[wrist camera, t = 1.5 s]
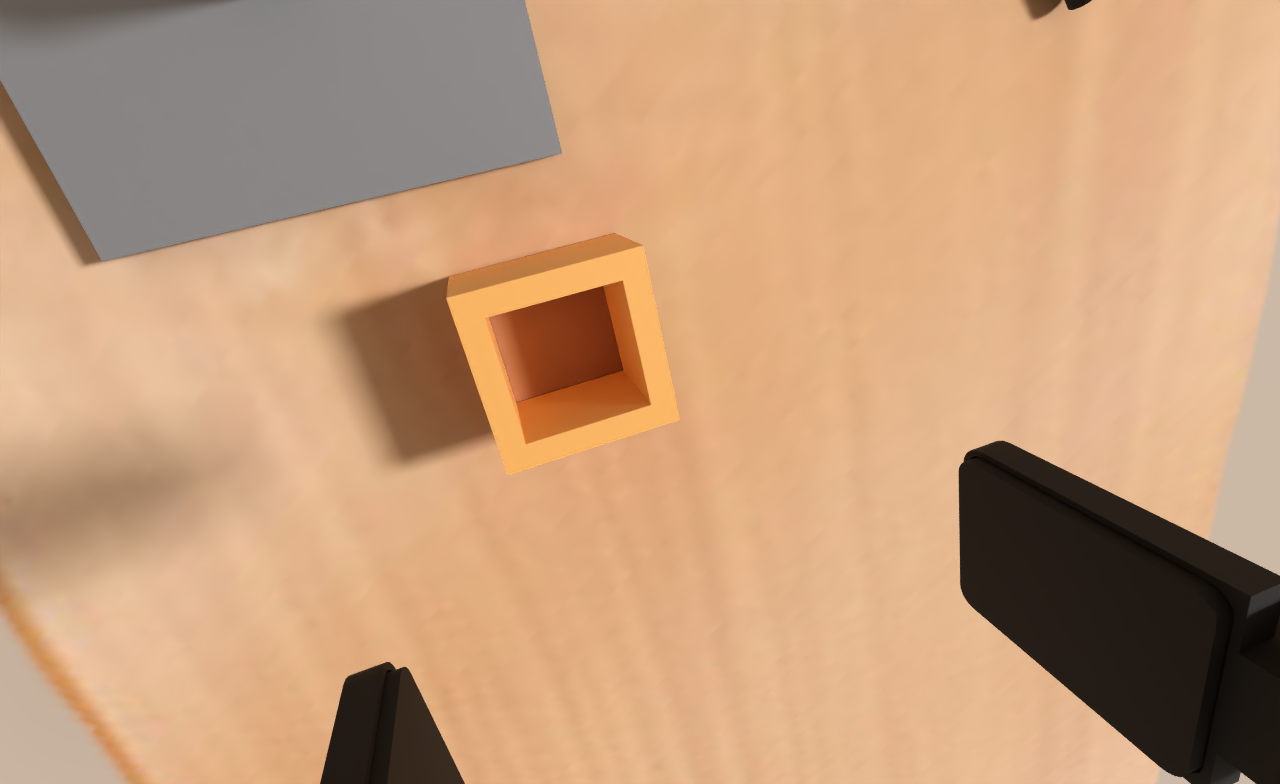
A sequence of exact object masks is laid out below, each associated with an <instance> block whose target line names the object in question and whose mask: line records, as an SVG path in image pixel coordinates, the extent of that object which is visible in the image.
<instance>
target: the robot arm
mask: <svg viewBox="0 0 1280 784" xmlns="http://www.w3.org/2000/svg"><path fill="white" fill-rule="evenodd" d="M959 525H960V585H961V590H962V593H963V595H964V597H965V599H966V600H967V602H968V603H969V604H970V605H971V606H972V607H973V608H974V609H975V610H976V611H977V612H978V613H980V614H981V615H982V616H983V617H984V618H986V619H987V620H988V621H989V622H990V623H991V624H993V625H994V626H995V627H996V628H997V629H998V630H1000V631H1001V632H1002V633H1003V634H1004V635H1006V636H1007V637H1008V638H1009V639H1010V640H1011V641H1013V642H1014V643H1015V644H1016V645H1017V646H1018V647H1020V648H1021V649H1022V650H1023V651H1024V652H1026V653H1027V654H1028V655H1029V656H1030V657H1031V658H1033V659H1034V660H1035V661H1036V662H1037V663H1038V664H1040V665H1041V666H1042V667H1043V668H1044V669H1045V670H1047V671H1048V672H1049V673H1050V674H1051V675H1053V676H1054V677H1055V678H1056V679H1057V680H1058V681H1060V682H1061V683H1062V684H1063V685H1064V686H1065V687H1067V688H1068V689H1069V690H1070V691H1071V692H1073V693H1074V694H1075V695H1076V696H1077V697H1078V698H1080V699H1081V700H1082V701H1083V702H1084V703H1085V704H1087V705H1088V706H1089V707H1090V708H1091V709H1093V710H1094V711H1095V712H1096V713H1097V714H1098V715H1100V716H1101V717H1102V718H1103V719H1104V720H1105V721H1107V722H1108V723H1109V724H1110V725H1111V726H1113V727H1114V728H1115V729H1116V730H1117V731H1118V732H1120V733H1121V734H1122V735H1123V736H1124V737H1125V738H1127V739H1128V740H1129V741H1130V742H1131V743H1133V744H1134V745H1135V746H1136V747H1137V748H1138V749H1140V750H1141V751H1142V752H1143V753H1144V754H1145V755H1147V756H1148V757H1149V758H1150V759H1151V760H1152V761H1154V762H1155V763H1156V764H1157V765H1158V766H1160V767H1161V768H1162V769H1164V770H1165V771H1166V772H1168V773H1170V774H1172V775H1174V776H1178V777H1184V778H1185V779H1186V780H1187V781H1188V782H1189V783H1191V784H1233V783H1235V782H1238V781H1239V777H1240V773H1241V772H1242V773H1243V774H1244V775H1245V776H1247V777H1248V778H1250V779H1251V780H1252V781H1253V782H1255V783H1256V784H1280V576H1279V575H1277V574H1275V573H1273V572H1271V571H1269V570H1267V569H1265V568H1263V567H1261V566H1259V565H1257V564H1255V563H1253V562H1251V561H1249V560H1246V559H1244V558H1242V557H1240V556H1238V555H1236V554H1234V553H1232V552H1230V551H1228V550H1226V549H1224V548H1222V547H1220V546H1218V545H1216V544H1214V543H1212V542H1210V541H1208V540H1206V539H1204V538H1202V537H1200V536H1198V535H1196V534H1194V533H1192V532H1190V531H1188V530H1186V529H1183V528H1181V527H1179V526H1177V525H1175V524H1173V523H1171V522H1169V521H1167V520H1165V519H1163V518H1161V517H1159V516H1157V515H1155V514H1153V513H1151V512H1149V511H1147V510H1145V509H1143V508H1141V507H1139V506H1137V505H1135V504H1133V503H1131V502H1129V501H1127V500H1125V499H1122V498H1120V497H1118V496H1116V495H1114V494H1112V493H1110V492H1108V491H1106V490H1104V489H1102V488H1100V487H1098V486H1096V485H1094V484H1092V483H1090V482H1088V481H1086V480H1084V479H1082V478H1080V477H1078V476H1076V475H1074V474H1072V473H1070V472H1068V471H1066V470H1063V469H1061V468H1059V467H1057V466H1055V465H1053V464H1051V463H1049V462H1047V461H1045V460H1043V459H1041V458H1039V457H1037V456H1035V455H1033V454H1031V453H1029V452H1027V451H1025V450H1023V449H1021V448H1019V447H1017V446H1015V445H1013V444H1011V443H1008V442H1005V441H996V442H993V443H990V444H988V445H985V446H982V447H979V448H976V449H974V450H971V451H969V452H968V453H967V454H966V455H965V457H964V463H962V464H961V465H960V467H959ZM320 784H465V783H464V781H463V779H462V777H461V775H460V773H459V771H458V769H457V767H456V765H455V763H454V761H453V759H452V757H451V754H450V752H449V750H448V748H447V746H446V744H445V742H444V740H443V738H442V736H441V734H440V732H439V730H438V728H437V726H436V724H435V722H434V720H433V718H432V716H431V714H430V712H429V709H428V707H427V705H426V703H425V701H424V699H423V697H422V695H421V693H420V691H419V689H418V687H417V685H416V683H415V681H414V679H413V677H412V675H411V673H410V671H409V669H408V668H406V667H402V668H400V669H397V670H396V669H395V667H394V666H393V665H392V664H391V663H390V662H386V663H383V664H380V665H377V666H375V667H372V668H369V669H366V670H364V671H361V672H358V673H355V674H353V675H350V676H348V677H347V678H346V680H345V682H344V685H343V689H342V693H341V697H340V702H339V706H338V710H337V714H336V719H335V723H334V727H333V731H332V736H331V740H330V744H329V748H328V753H327V757H326V761H325V765H324V770H323V774H322V778H321V782H320Z"/></svg>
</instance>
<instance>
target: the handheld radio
mask: <svg viewBox="0 0 1280 784" xmlns="http://www.w3.org/2000/svg"><path fill="white" fill-rule="evenodd" d="M1090 1H1092V0H1065V3H1066V5H1067V7H1068V9H1069V10H1074V9H1077V8H1079V7H1082V6H1084V5H1085V4H1087V3H1089V2H1090Z"/></svg>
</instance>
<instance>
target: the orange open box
mask: <svg viewBox="0 0 1280 784" xmlns="http://www.w3.org/2000/svg"><path fill="white" fill-rule="evenodd" d="M600 286H603V287H604V292H605V296H606V300H607V304H608V308H609V312H610V317H611V321H612V325H613V329H614V333H615V337H616V341H617V346H618V350H619V354H620V358H621V362H622V366H623V371H620V372H617V373H613V374H610V375H607V376H603V377H600V378H597V379H594V380H590V381H587V382H584V383H580V384H577V385H574V386H570V387H567V388H564V389H560V390H557V391H554V392H550V393H547V394H544V395H540V396H537V397H534V398H531V399H527V400H524V401H521V402H517V403H516V400H515V397H514V394H513V391H512V388H511V385H510V382H509V379H508V376H507V372H506V369H505V366H504V363H503V360H502V357H501V354H500V351H499V348H498V345H497V341H496V338H495V335H494V332H493V329H492V326H491V323H490V320H489V317H491V316H495V315H499V314H502V313H506V312H510V311H513V310H517V309H520V308H524V307H528V306H531V305H535V304H539V303H542V302H546V301H549V300H553V299H557V298H560V297H564V296H568V295H571V294H575V293H578V292H582V291H586V290H589V289H593V288H597V287H600ZM446 299H447V302H448V305H449V308H450V311H451V314H452V317H453V319H454V322H455V325H456V328H457V331H458V334H459V337H460V340H461V343H462V345H463V348H464V351H465V354H466V357H467V360H468V363H469V366H470V368H471V371H472V374H473V377H474V380H475V383H476V386H477V389H478V392H479V394H480V397H481V400H482V403H483V406H484V409H485V412H486V415H487V418H488V420H489V423H490V426H491V429H492V432H493V435H494V438H495V441H496V443H497V446H498V449H499V452H500V455H501V458H502V461H503V464H504V467H505V469H506V472H507V475H510V474H513V473H516V472H519V471H523V470H526V469H529V468H532V467H535V466H538V465H541V464H544V463H547V462H551V461H554V460H557V459H560V458H563V457H566V456H569V455H572V454H575V453H579V452H582V451H585V450H588V449H591V448H594V447H597V446H600V445H603V444H607V443H610V442H613V441H616V440H619V439H622V438H625V437H628V436H631V435H635V434H638V433H641V432H644V431H647V430H650V429H653V428H656V427H659V426H663V425H666V424H669V423H672V422H675V421H678V420H680V418H679V414H678V409H677V404H676V399H675V394H674V390H673V385H672V380H671V375H670V371H669V366H668V361H667V356H666V351H665V347H664V342H663V337H662V332H661V327H660V323H659V318H658V313H657V308H656V303H655V299H654V294H653V289H652V284H651V279H650V275H649V270H648V265H647V260H646V256H645V251H644V246H643V245H641V244H639V243H636V242H634V241H632V240H629V239H627V238H624V237H622V236H620V235H617V234H615V233H614V234H610V235H607V236H603V237H599V238H595V239H591V240H587V241H584V242H580V243H576V244H572V245H568V246H564V247H561V248H557V249H553V250H549V251H545V252H541V253H538V254H534V255H530V256H526V257H522V258H519V259H515V260H511V261H507V262H503V263H499V264H496V265H492V266H488V267H484V268H480V269H476V270H473V271H469V272H465V273H461V274H457V275H453V276H450V277H449V280H448V287H447V295H446Z"/></svg>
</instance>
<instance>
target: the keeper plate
mask: <svg viewBox="0 0 1280 784" xmlns="http://www.w3.org/2000/svg"><path fill="white" fill-rule="evenodd" d="M0 81H1V83H2V84H3V86H4V88H5V90H6V91H7V93H8V95H9V97H10V99H11V100H12V102H13V104H14V106H15V107H16V109H17V111H18V113H19V115H20V116H21V118H22V120H23V122H24V124H25V125H26V127H27V129H28V131H29V132H30V134H31V136H32V138H33V140H34V141H35V143H36V145H37V147H38V148H39V150H40V152H41V154H42V156H43V157H44V159H45V161H46V163H47V165H48V166H49V168H50V170H51V172H52V173H53V175H54V177H55V179H56V181H57V182H58V184H59V186H60V188H61V189H62V191H63V193H64V195H65V197H66V198H67V200H68V202H69V204H70V206H71V207H72V209H73V211H74V213H75V214H76V216H77V218H78V220H79V222H80V223H81V225H82V227H83V229H84V230H85V232H86V234H87V236H88V238H89V239H90V241H91V243H92V245H93V246H94V248H95V250H96V252H97V254H98V255H99V257H100V259H101V261H106V260H110V259H115V258H119V257H123V256H127V255H132V254H136V253H140V252H144V251H149V250H153V249H157V248H161V247H166V246H170V245H174V244H178V243H183V242H187V241H191V240H195V239H200V238H204V237H208V236H213V235H217V234H221V233H225V232H230V231H234V230H238V229H242V228H247V227H251V226H255V225H259V224H264V223H268V222H272V221H276V220H281V219H285V218H289V217H293V216H298V215H302V214H306V213H311V212H315V211H319V210H323V209H328V208H332V207H336V206H340V205H345V204H349V203H353V202H357V201H362V200H366V199H370V198H374V197H379V196H383V195H387V194H391V193H396V192H400V191H404V190H408V189H413V188H417V187H421V186H426V185H430V184H434V183H438V182H443V181H447V180H451V179H455V178H460V177H464V176H468V175H472V174H477V173H481V172H485V171H489V170H494V169H498V168H502V167H506V166H511V165H515V164H519V163H524V162H528V161H532V160H536V159H541V158H545V157H549V156H553V155H558V154H562V150H561V146H560V142H559V138H558V134H557V130H556V126H555V122H554V118H553V114H552V110H551V106H550V102H549V98H548V94H547V89H546V85H545V81H544V77H543V73H542V69H541V65H540V61H539V57H538V53H537V49H536V45H535V41H534V37H533V33H532V29H531V24H530V20H529V16H528V12H527V8H526V4H525V0H0Z"/></svg>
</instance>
